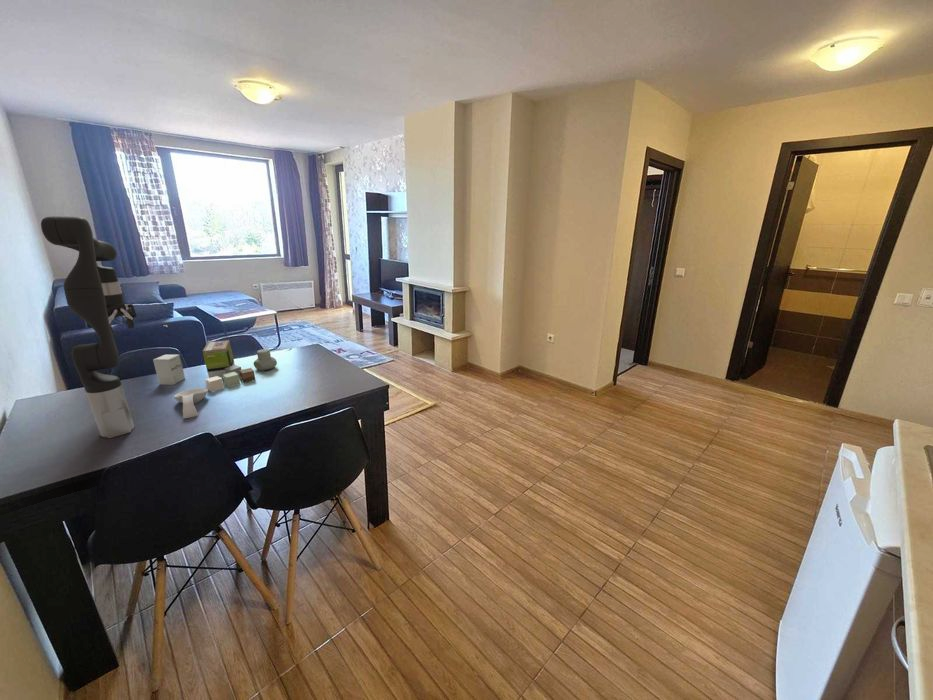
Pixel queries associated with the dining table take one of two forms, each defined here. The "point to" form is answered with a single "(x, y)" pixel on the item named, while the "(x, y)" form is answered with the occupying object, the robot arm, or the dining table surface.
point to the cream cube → (214, 383)
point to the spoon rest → (190, 400)
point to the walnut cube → (247, 375)
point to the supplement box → (169, 369)
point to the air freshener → (264, 360)
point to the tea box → (218, 357)
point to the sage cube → (231, 379)
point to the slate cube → (233, 369)
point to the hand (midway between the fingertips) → (121, 330)
